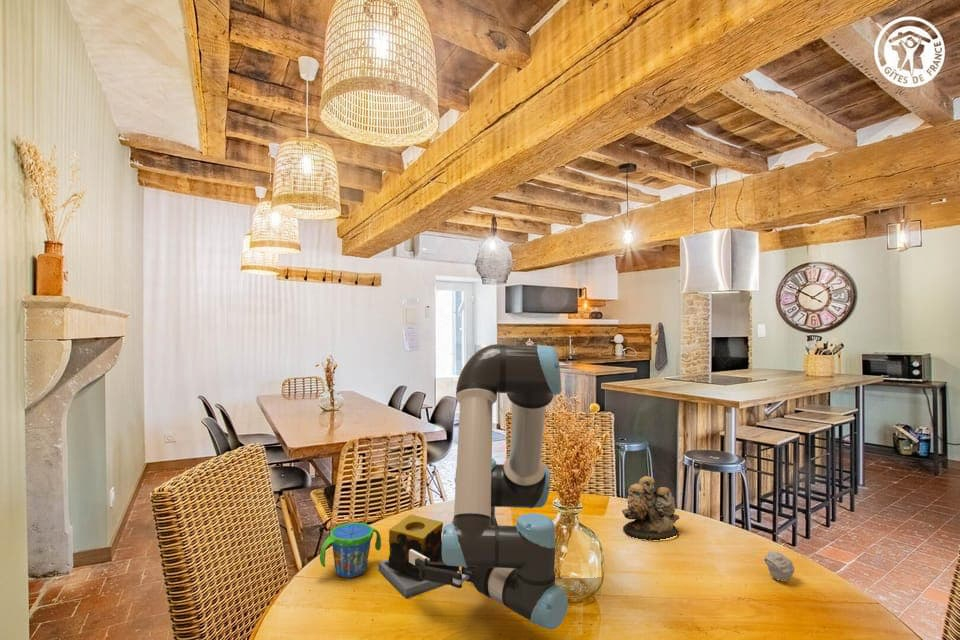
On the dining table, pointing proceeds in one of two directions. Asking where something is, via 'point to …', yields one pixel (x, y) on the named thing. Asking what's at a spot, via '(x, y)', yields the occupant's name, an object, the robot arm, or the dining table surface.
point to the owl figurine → (650, 511)
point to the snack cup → (350, 548)
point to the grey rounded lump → (779, 566)
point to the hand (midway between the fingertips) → (432, 546)
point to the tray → (406, 580)
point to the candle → (414, 542)
